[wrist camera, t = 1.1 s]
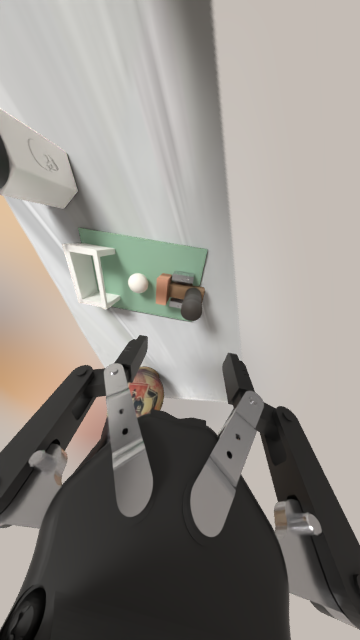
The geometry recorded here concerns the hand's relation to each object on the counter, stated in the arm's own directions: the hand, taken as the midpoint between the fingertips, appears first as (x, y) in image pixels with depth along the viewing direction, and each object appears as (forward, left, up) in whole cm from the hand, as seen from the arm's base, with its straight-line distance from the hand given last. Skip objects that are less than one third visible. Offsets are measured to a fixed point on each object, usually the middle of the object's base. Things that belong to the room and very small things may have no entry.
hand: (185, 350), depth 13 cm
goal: (0, -20, -18) cm, 27 cm away
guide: (0, -3, -18) cm, 19 cm away
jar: (-15, -27, -19) cm, 36 cm away
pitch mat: (0, -11, -19) cm, 22 cm away
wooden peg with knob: (0, -3, -18) cm, 18 cm away
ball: (0, -11, -16) cm, 20 cm away
